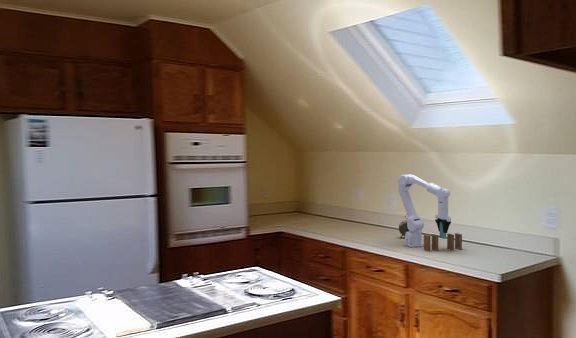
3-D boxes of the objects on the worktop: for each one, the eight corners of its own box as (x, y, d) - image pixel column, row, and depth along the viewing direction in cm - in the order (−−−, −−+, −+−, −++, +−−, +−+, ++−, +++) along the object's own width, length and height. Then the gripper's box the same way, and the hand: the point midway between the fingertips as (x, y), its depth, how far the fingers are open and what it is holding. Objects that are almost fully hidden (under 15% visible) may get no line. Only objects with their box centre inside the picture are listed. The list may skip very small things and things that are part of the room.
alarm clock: (414, 237, 335) (414, 213, 334) (416, 239, 329) (417, 214, 328) (398, 237, 335) (398, 213, 334) (400, 239, 329) (400, 214, 328)
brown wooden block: (427, 251, 290) (427, 236, 290) (423, 249, 295) (423, 234, 294) (430, 251, 290) (430, 236, 290) (426, 249, 295) (426, 234, 295)
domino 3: (451, 250, 293) (451, 235, 293) (447, 248, 298) (447, 233, 297) (454, 250, 293) (454, 234, 293) (449, 248, 298) (449, 233, 298)
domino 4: (459, 249, 294) (459, 234, 294) (454, 248, 299) (454, 233, 298) (461, 249, 294) (461, 234, 294) (457, 248, 299) (457, 233, 299)
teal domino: (443, 238, 292) (443, 223, 291) (439, 237, 297) (439, 222, 296) (446, 238, 292) (446, 223, 292) (442, 237, 297) (442, 222, 296)
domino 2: (435, 251, 291) (435, 235, 291) (431, 249, 296) (431, 234, 295) (438, 251, 291) (438, 235, 291) (434, 249, 296) (434, 234, 296)
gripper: (455, 210, 287) (455, 233, 288) (443, 207, 301) (442, 229, 302) (444, 210, 286) (444, 234, 286) (432, 207, 300) (432, 230, 301)
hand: (442, 232), depth 294 cm, fingers closed on teal domino, 5 cm apart
